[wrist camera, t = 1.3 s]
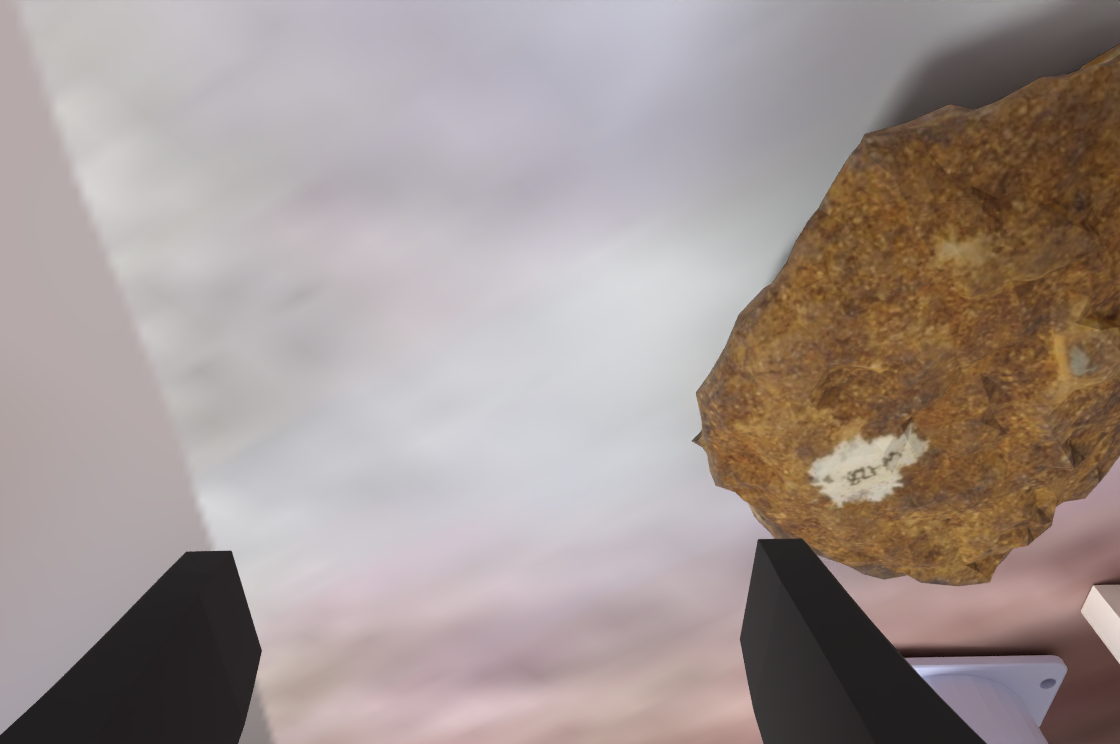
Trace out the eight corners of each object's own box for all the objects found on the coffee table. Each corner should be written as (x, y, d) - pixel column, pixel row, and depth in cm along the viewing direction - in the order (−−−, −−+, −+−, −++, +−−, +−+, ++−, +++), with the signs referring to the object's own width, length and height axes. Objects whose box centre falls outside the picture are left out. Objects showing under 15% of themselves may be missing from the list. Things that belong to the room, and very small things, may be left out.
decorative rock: (903, -122, 16) (632, 446, 23) (990, -121, 12) (638, 547, 20) (1375, 71, 17) (973, 545, 25) (1573, 121, 14) (1034, 654, 21)
